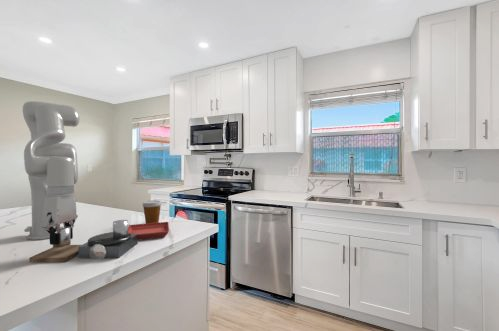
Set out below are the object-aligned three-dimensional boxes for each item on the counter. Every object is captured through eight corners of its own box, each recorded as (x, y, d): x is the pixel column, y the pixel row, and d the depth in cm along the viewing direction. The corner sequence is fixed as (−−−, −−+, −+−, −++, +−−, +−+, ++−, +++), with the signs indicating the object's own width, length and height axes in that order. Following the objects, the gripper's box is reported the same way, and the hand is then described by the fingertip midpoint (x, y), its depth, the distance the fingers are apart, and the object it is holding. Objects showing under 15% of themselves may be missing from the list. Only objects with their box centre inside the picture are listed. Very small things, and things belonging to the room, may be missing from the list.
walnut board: (29, 262, 77) (29, 257, 77) (58, 248, 89) (58, 244, 89) (65, 262, 78) (65, 257, 78) (89, 248, 90) (89, 244, 90)
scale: (76, 261, 80) (76, 244, 80) (103, 245, 95) (102, 231, 95) (117, 261, 80) (117, 244, 80) (137, 245, 95) (137, 231, 95)
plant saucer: (129, 231, 113) (129, 224, 113) (168, 227, 120) (168, 221, 119) (123, 243, 96) (123, 235, 96) (169, 238, 103) (169, 231, 103)
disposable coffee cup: (157, 226, 120) (157, 203, 120) (139, 226, 120) (138, 203, 120) (164, 221, 129) (164, 200, 129) (147, 221, 130) (147, 200, 129)
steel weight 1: (48, 247, 81) (48, 230, 81) (60, 242, 86) (60, 226, 86) (63, 247, 81) (63, 230, 81) (74, 242, 86) (73, 226, 86)
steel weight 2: (110, 239, 85) (109, 223, 85) (117, 235, 90) (117, 219, 90) (123, 239, 85) (123, 223, 85) (130, 235, 90) (130, 219, 90)
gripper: (68, 188, 92) (69, 234, 92) (28, 194, 75) (28, 250, 75) (87, 188, 92) (88, 234, 92) (51, 194, 75) (52, 250, 75)
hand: (61, 241), depth 83 cm, fingers closed on steel weight 1, 5 cm apart
